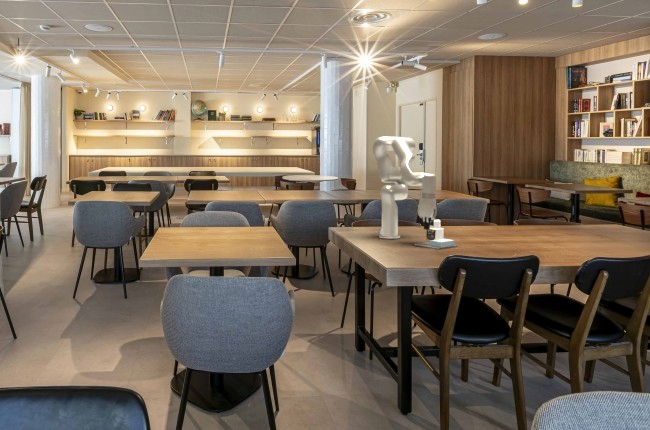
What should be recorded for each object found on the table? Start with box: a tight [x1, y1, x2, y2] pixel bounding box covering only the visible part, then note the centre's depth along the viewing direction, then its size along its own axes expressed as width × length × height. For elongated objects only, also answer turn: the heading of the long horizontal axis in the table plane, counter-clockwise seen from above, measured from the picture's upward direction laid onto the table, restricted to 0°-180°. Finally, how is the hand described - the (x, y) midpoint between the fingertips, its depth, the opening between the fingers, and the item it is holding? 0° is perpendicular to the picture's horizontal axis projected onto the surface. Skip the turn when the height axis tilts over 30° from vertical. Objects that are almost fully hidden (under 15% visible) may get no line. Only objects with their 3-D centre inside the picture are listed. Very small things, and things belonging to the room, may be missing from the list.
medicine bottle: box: [425, 218, 445, 242], centre depth 365 cm, size 7×7×12 cm
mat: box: [412, 241, 458, 250], centre depth 345 cm, size 18×16×1 cm
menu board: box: [429, 238, 456, 248], centre depth 340 cm, size 3×11×8 cm
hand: (426, 229), depth 349 cm, fingers closed
